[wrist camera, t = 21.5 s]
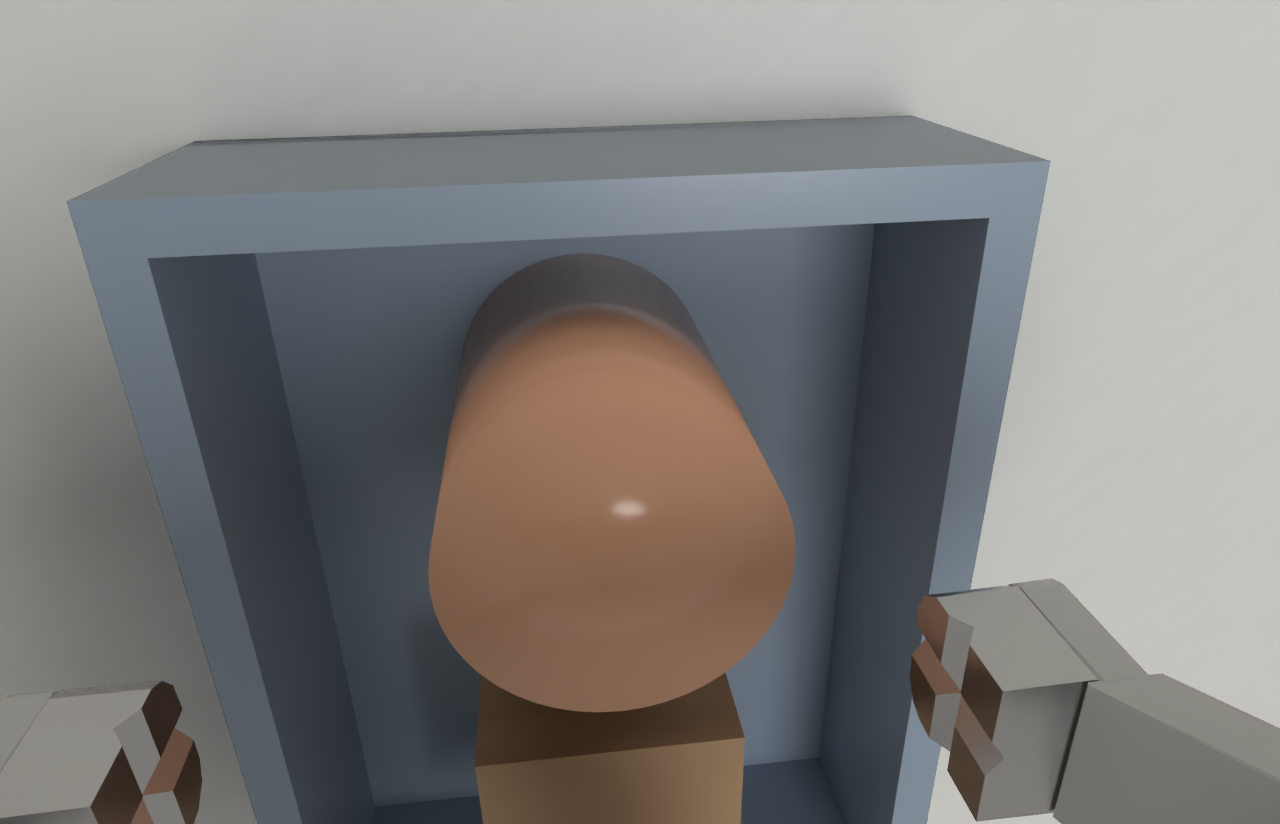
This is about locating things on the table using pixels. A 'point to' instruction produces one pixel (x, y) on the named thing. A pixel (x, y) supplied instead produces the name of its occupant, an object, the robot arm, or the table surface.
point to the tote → (425, 392)
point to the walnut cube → (610, 761)
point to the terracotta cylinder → (601, 497)
